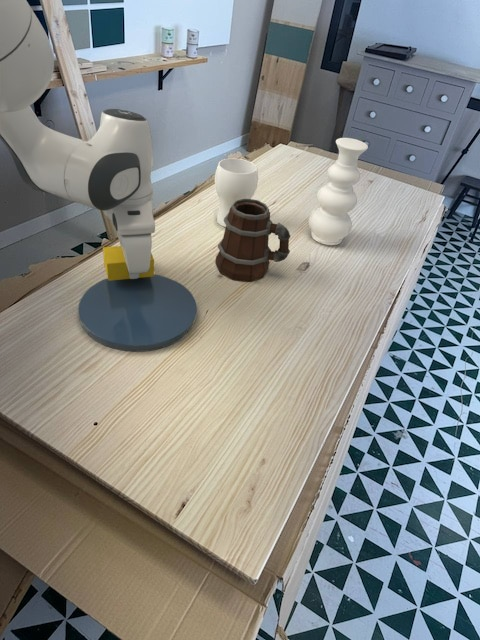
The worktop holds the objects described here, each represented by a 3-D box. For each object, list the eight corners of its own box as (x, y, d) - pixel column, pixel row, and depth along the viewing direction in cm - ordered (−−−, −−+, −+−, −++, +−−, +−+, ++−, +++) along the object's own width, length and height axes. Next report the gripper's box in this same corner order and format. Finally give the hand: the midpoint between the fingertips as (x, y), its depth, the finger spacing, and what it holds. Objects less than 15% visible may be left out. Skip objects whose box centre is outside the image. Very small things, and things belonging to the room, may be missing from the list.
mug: (208, 273, 102) (214, 211, 93) (227, 248, 112) (234, 189, 102) (276, 293, 100) (290, 231, 90) (290, 265, 109) (303, 207, 99)
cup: (231, 208, 128) (238, 154, 118) (259, 224, 122) (268, 169, 113) (202, 218, 121) (207, 162, 112) (230, 235, 116) (237, 178, 107)
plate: (85, 360, 78) (85, 354, 77) (73, 284, 94) (73, 278, 93) (210, 341, 86) (211, 335, 85) (180, 273, 101) (180, 268, 100)
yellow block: (108, 281, 91) (107, 263, 88) (104, 264, 95) (102, 247, 92) (154, 276, 94) (154, 259, 91) (148, 260, 98) (148, 243, 95)
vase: (328, 254, 115) (356, 154, 99) (296, 234, 121) (318, 137, 105) (355, 243, 121) (385, 147, 105) (323, 224, 127) (348, 131, 111)
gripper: (102, 179, 91) (107, 241, 100) (119, 232, 77) (122, 298, 86) (135, 178, 93) (136, 239, 102) (157, 229, 79) (156, 294, 88)
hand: (130, 266), depth 94 cm, fingers closed on yellow block, 6 cm apart
